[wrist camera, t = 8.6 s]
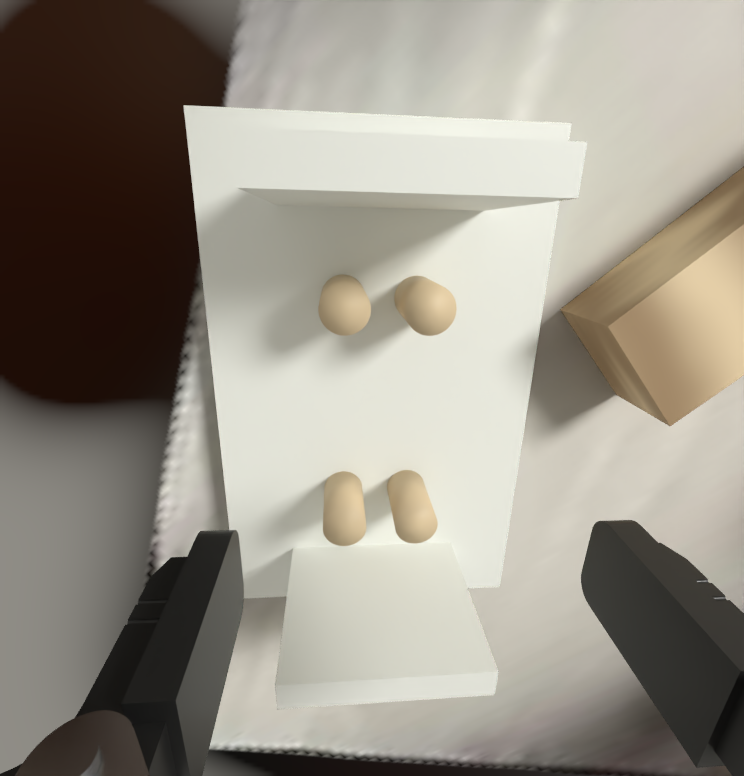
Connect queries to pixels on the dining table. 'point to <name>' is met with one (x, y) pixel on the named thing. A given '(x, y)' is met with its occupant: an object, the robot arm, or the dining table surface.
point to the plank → (673, 310)
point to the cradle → (374, 375)
